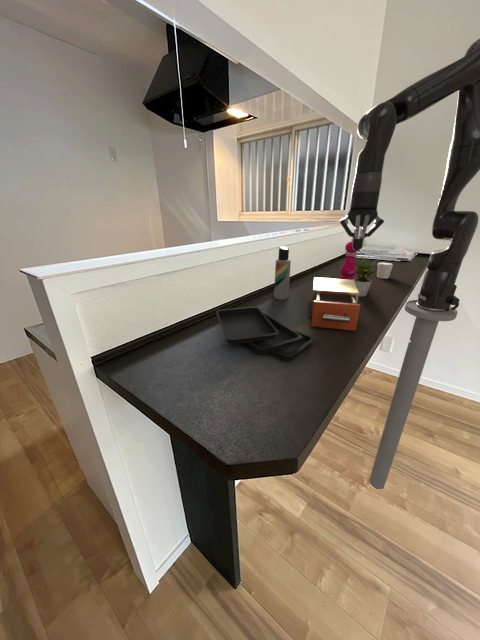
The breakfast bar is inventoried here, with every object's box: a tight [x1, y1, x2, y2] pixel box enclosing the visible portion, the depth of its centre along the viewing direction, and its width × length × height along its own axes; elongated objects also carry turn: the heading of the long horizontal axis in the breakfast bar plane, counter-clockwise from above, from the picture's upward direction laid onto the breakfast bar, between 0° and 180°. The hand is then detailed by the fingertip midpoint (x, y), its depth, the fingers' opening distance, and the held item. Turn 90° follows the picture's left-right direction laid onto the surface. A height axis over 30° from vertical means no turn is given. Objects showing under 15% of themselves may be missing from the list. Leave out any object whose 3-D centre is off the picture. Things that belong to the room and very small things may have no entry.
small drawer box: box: [309, 276, 360, 319], centre depth 91 cm, size 16×14×10 cm
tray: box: [215, 306, 316, 362], centre depth 73 cm, size 30×23×5 cm
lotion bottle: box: [273, 246, 292, 301], centre depth 103 cm, size 6×6×20 cm
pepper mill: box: [339, 237, 358, 280], centre depth 126 cm, size 7×7×20 cm
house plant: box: [347, 255, 383, 297], centre depth 107 cm, size 14×14×16 cm
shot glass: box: [376, 261, 394, 280], centre depth 133 cm, size 7×7×7 cm
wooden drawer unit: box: [310, 293, 361, 332], centre depth 81 cm, size 19×13×8 cm, turn 164°
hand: (356, 250), depth 84 cm, fingers closed
